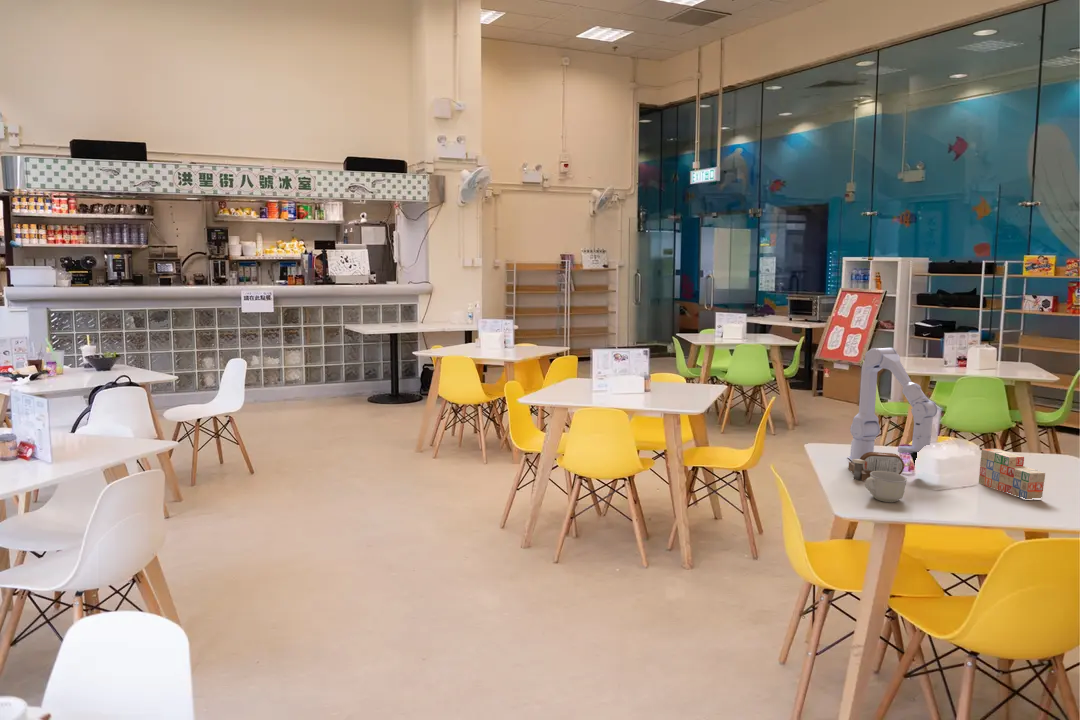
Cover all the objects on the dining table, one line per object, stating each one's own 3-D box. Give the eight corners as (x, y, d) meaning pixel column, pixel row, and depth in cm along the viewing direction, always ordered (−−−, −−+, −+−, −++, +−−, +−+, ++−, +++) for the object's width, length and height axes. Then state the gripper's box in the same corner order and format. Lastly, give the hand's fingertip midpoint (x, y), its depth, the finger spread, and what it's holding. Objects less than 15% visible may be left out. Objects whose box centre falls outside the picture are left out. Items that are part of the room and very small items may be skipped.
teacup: (891, 494, 263) (893, 470, 262) (912, 504, 253) (914, 479, 252) (852, 495, 261) (854, 470, 260) (871, 505, 250) (873, 480, 249)
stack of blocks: (1042, 501, 262) (1046, 463, 260) (1026, 501, 261) (1030, 464, 259) (993, 482, 283) (997, 448, 281) (977, 482, 281) (981, 448, 280)
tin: (900, 476, 286) (903, 453, 285) (904, 478, 283) (906, 455, 282) (857, 474, 288) (859, 450, 287) (859, 476, 284) (861, 453, 283)
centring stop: (839, 468, 294) (841, 450, 294) (863, 469, 294) (865, 451, 293) (852, 480, 279) (854, 461, 278) (878, 481, 278) (880, 462, 277)
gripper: (904, 436, 279) (900, 475, 281) (948, 439, 278) (944, 477, 280) (897, 432, 286) (893, 470, 288) (939, 434, 285) (936, 472, 287)
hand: (918, 473), depth 284 cm, fingers closed
